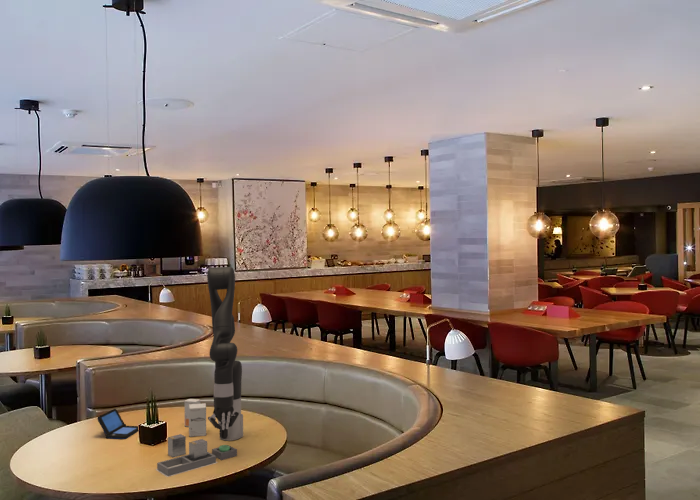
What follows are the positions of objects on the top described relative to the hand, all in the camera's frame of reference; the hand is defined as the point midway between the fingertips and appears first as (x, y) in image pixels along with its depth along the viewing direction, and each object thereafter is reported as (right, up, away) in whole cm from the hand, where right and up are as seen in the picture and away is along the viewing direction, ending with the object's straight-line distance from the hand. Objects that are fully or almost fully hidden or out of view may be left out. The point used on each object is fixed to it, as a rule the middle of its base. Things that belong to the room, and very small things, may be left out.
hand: (223, 438), depth 237 cm
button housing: (0, -8, +1) cm, 8 cm away
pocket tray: (-12, -8, -10) cm, 17 cm away
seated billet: (-8, -7, -7) cm, 13 cm away
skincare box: (-23, -7, +42) cm, 48 cm away
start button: (0, -5, 0) cm, 5 cm away
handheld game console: (-52, -8, +32) cm, 62 cm away
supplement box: (-18, -8, +30) cm, 36 cm away
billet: (-19, -8, +2) cm, 20 cm away
